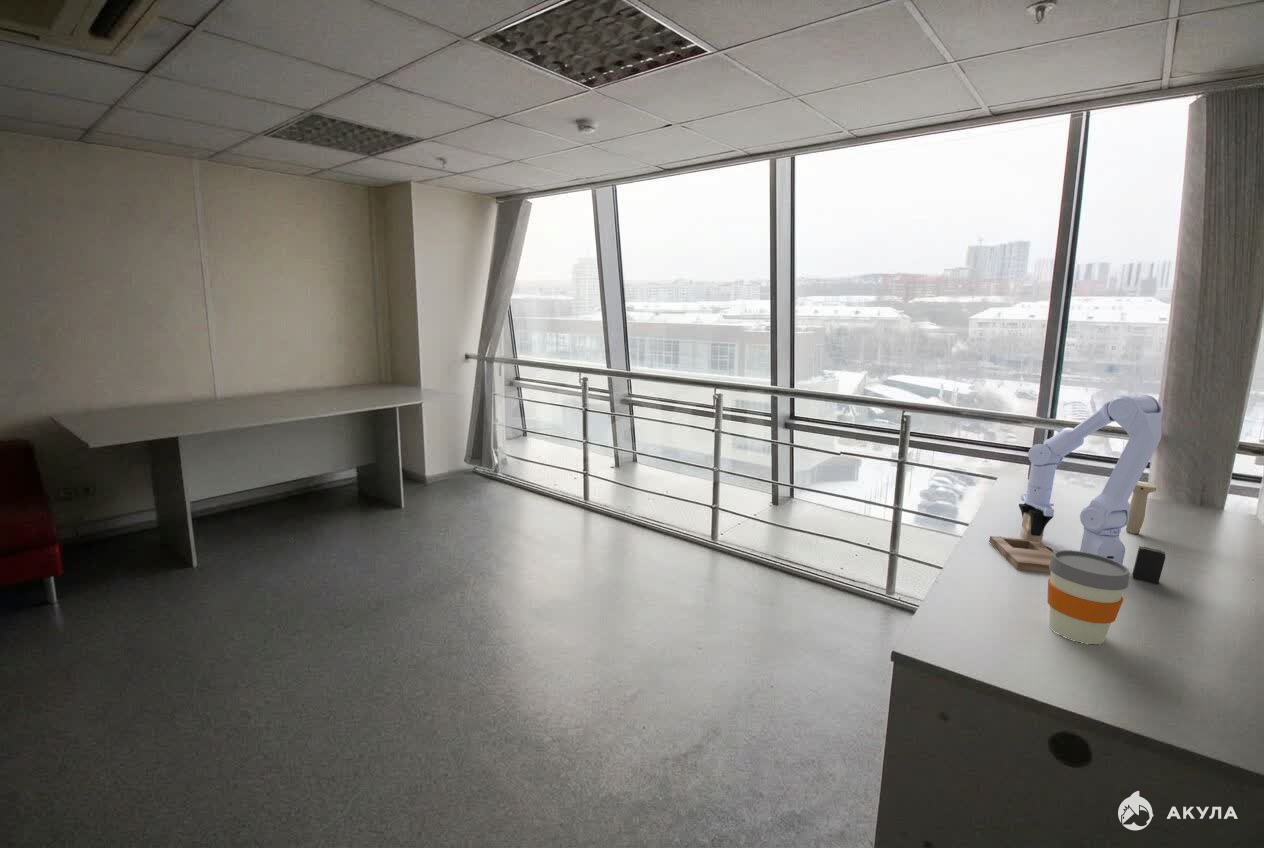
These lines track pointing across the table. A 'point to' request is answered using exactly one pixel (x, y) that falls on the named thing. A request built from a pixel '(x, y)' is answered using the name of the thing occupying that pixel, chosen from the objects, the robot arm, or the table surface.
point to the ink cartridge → (1148, 565)
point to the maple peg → (1028, 529)
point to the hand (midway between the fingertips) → (1031, 532)
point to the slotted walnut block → (1024, 553)
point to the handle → (1138, 507)
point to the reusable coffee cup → (1084, 594)
